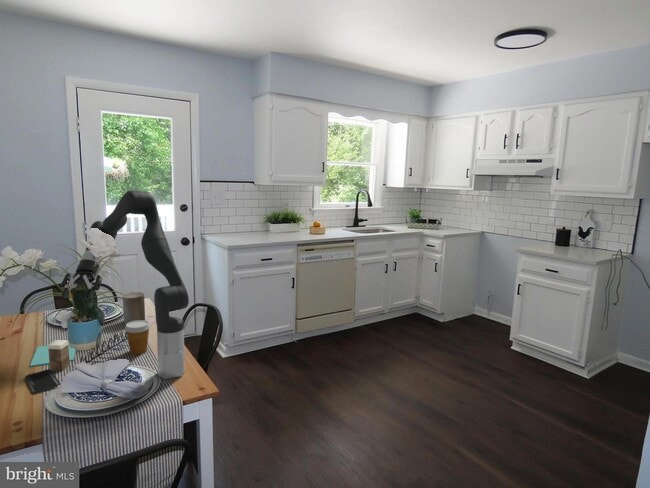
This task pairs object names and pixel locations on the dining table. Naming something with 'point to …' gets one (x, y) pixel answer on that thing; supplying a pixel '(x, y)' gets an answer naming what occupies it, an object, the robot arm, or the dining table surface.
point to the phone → (42, 381)
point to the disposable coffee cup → (137, 336)
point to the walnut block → (58, 355)
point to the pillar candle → (133, 307)
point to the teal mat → (47, 356)
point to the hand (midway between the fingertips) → (75, 298)
